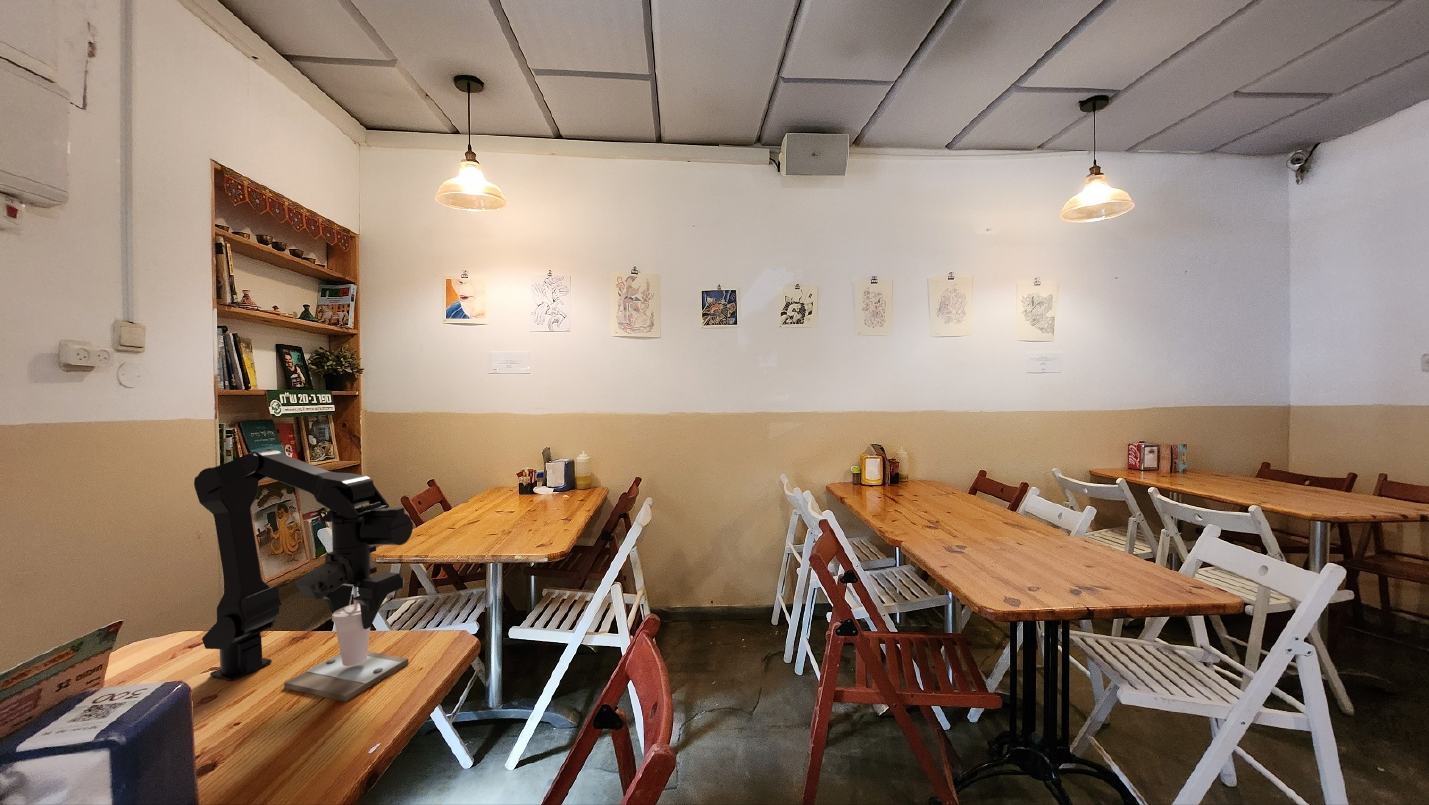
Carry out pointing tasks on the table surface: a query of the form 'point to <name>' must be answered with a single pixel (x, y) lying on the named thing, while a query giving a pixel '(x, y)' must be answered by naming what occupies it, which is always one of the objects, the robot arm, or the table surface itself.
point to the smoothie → (351, 633)
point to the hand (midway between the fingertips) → (354, 626)
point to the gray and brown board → (345, 676)
